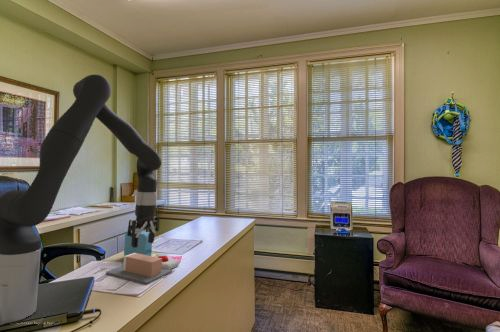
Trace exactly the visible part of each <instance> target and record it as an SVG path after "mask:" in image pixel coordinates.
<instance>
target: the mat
mask: <svg viewBox="0 0 500 332" xmlns="http://www.w3.org/2000/svg"><path fill="white" fill-rule="evenodd" d="M171 272H172V273H173V269H170V270H169V269H164V268H162V269H161V273H159V274H157V275H155V276H153V277H148V276H144V275H140V274H136V273H132V272H128V271H124V270H123V265H121V266H119V267H117V268H113V269H110V270H108V271H105V275H109V276H113V277H116V278H119V279H122V280H123V279H124V280H128V281H130V282H131V281H132V282H136V283H140V284H143V285H147V284H148V285H149V283H150V284H151V282H152V283H154V282H155V280H156V281H158V280H160V279H162V278H163V277H162V276H164V277H166V276H168V275H170V274H172V273H171ZM169 273H170V274H169ZM167 274H168V275H167ZM165 275H166V276H165ZM161 277H162V278H161ZM159 278H160V279H159ZM157 279H158V280H157ZM153 281H154V282H153Z"/></svg>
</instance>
